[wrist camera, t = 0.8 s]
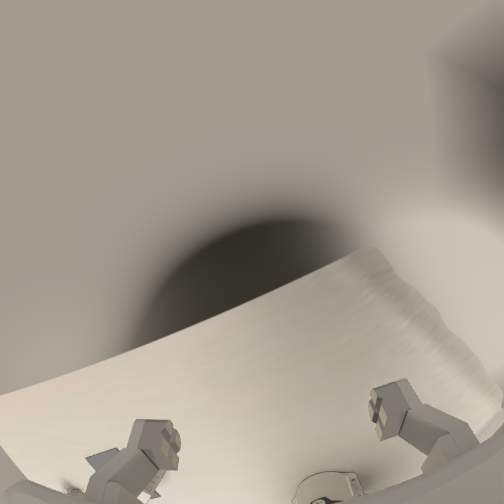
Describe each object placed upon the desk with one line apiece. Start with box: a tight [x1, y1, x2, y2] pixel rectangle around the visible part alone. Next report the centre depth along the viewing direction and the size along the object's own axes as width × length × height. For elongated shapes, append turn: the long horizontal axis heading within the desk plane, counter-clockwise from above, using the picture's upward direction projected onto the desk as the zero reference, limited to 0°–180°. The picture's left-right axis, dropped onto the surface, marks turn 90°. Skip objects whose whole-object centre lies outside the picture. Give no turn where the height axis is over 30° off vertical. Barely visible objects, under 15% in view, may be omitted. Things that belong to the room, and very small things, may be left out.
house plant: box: [68, 489, 85, 499], centre depth 53 cm, size 14×14×16 cm
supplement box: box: [137, 470, 166, 504], centre depth 54 cm, size 7×7×13 cm
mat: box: [85, 448, 160, 499], centre depth 60 cm, size 20×16×1 cm
